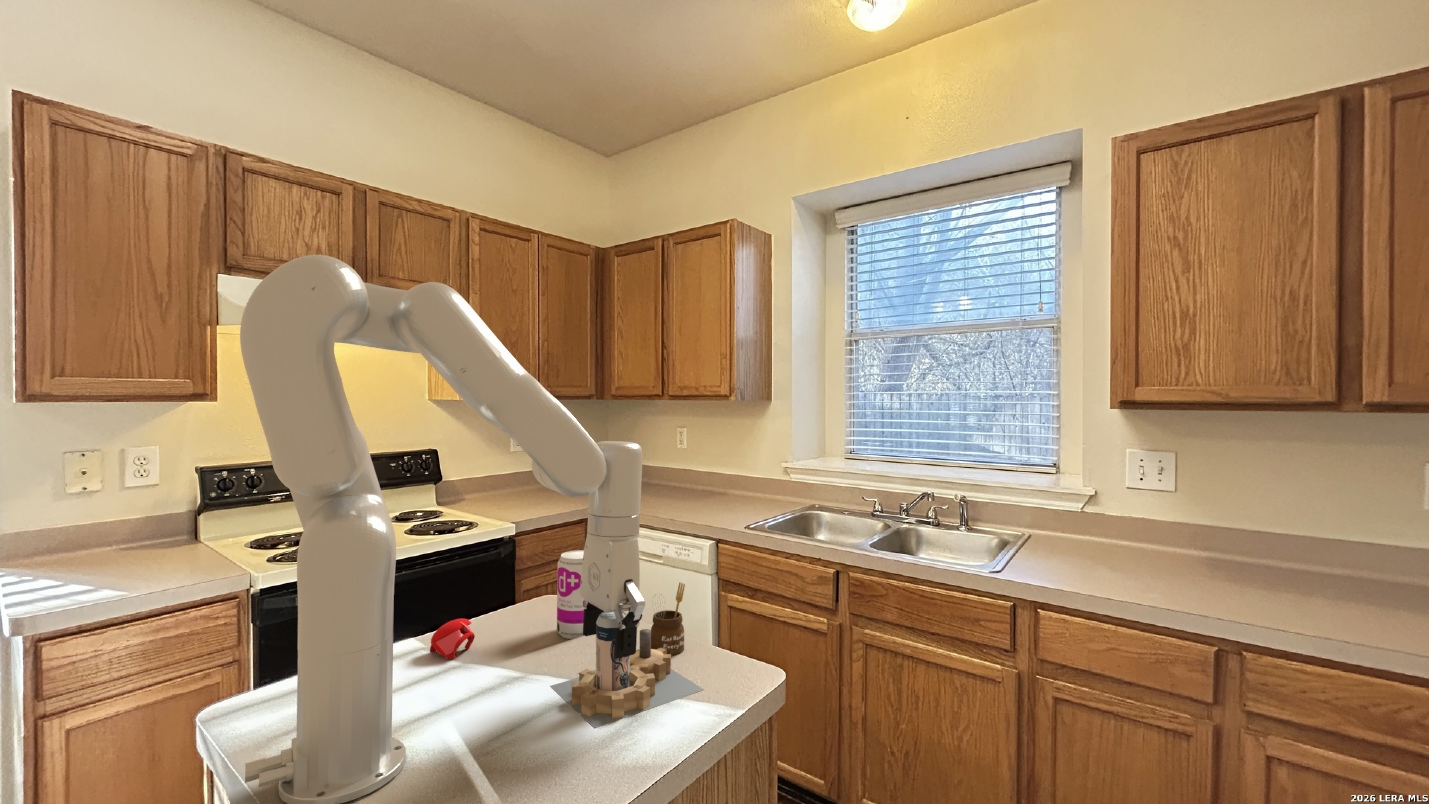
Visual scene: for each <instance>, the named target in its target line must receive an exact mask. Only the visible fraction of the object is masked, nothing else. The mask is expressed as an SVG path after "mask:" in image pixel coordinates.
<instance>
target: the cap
mask: <svg viewBox="0 0 1429 804" xmlns="http://www.w3.org/2000/svg"><path fill="white" fill-rule="evenodd" d="M470 625H472V621H471V620H469V619H467V618H457V619H452V620H449V621H447V622H446V623H444V624H442V625H441V626H439V628H437V629H436V631H435V632H434V633H433V635H432V637H431V639H430V648H429V653H430V654H433V653H435V652H437V653H438V655H441V656H442V657H445V659H446V660H455V659H456V656H457V655H456V652H457V651H458V649H459V647H460V646H461V645H462V644H463V643H465V641H466V640H467V642H466V643H465V645H464V649H465V650H469V649H470V648H471V646H472V644H473V642H474V640H475V637H476V635H475V633H474V632H473V630H472V629H471V628H470ZM461 634H462V635H461Z"/></svg>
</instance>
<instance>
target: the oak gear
mask: <svg viewBox="0 0 1429 804" xmlns="http://www.w3.org/2000/svg"><path fill="white" fill-rule="evenodd" d="M578 675H579V676H578V678H579V681H578V682H572V705H576V704H581V714H583V715H586V716H589V717H591V716H592V715H594V714H595V713H603V714H611V715H612V718H620V717H624V712H626V711H629V710H632V709H635V708H638V709H641V710H644V709H646V708H647V707H648V706H650V696H651V695H655V676H654V673H651V674H645V673H643V672H642V671H641V666H640V667H639V665H637V664H633V665H632V666H630V667H629V687H628V688H625V689H622V690H619V691H606V690H597V689H596V669H593V670H591V669H588V668H586V669H584V670H582V671H580V672H579V674H578Z"/></svg>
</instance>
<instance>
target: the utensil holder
mask: <svg viewBox="0 0 1429 804" xmlns="http://www.w3.org/2000/svg"><path fill="white" fill-rule="evenodd" d="M678 583H679V584H678V587H677V591H676V595H675V600H676V607H675V610H672V609H671V610H670V609H669V610H667V609H665V607H662V610H659V608H658V607H655V608H652V610H653V612H654V614H653V616H652V623H653V624H652V625H651V627H650V630H651V649H655V650H656V649H659V648H663V649H666V650H667V654H671V657H674V656H678V655H680V654H682V653H683V652H684V651H685V628H684V625H683V614H682V613H681V612H680V611H679V608H680V607H679V606H680V604H681V603H682V601H683V598H684V594H685V593H684V592H685V587H686V584H685V583H683V582H682V583H681V581H680V582H678ZM661 596H662V597H663V600H666V598H665V597H664V595H663V594H662V593H656V594H655V595H653V597H652V599H651V600H652V602H651V603H652V606H657V605H656V603H655V599H656V597H659V600H661ZM656 602H657V604H659V603H660V606H661V602H662V604H667V603H666V601H661V602H658V600H656ZM655 609H656V610H657V611H656V610H655Z"/></svg>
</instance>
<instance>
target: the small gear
mask: <svg viewBox="0 0 1429 804" xmlns="http://www.w3.org/2000/svg"><path fill="white" fill-rule="evenodd" d="M633 664H637V665H639V667H640V666H641V671H642V672H643V673H645V674H651V673H654V676H655V680H657V681H661V680H663V679H666V674H671V669H672V667H671V666H672V656H671V654H667V650H666V649H663V648H659V649H656V650H655V649H651V629H648V628H645V629H644V628H642V629H640V630H639V649H636V653H635V654H634V655H630V656H629V667H630V666H632V665H633Z"/></svg>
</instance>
